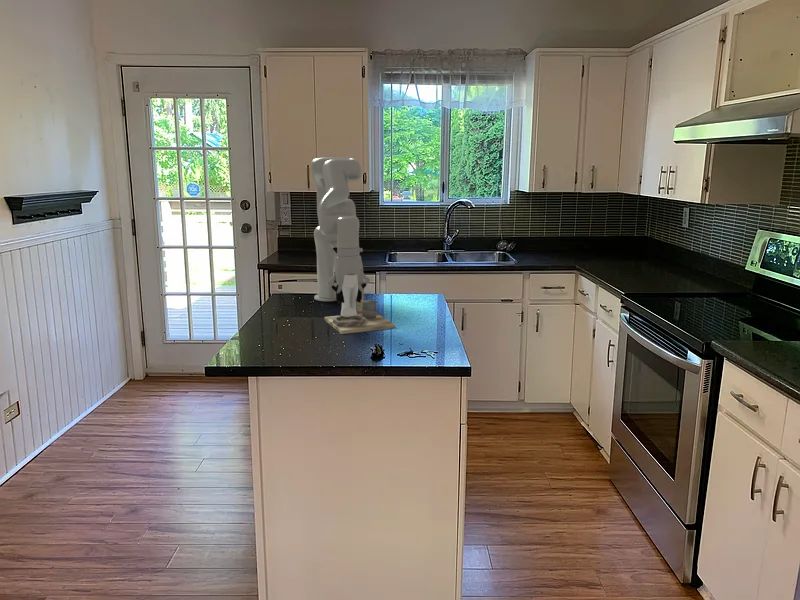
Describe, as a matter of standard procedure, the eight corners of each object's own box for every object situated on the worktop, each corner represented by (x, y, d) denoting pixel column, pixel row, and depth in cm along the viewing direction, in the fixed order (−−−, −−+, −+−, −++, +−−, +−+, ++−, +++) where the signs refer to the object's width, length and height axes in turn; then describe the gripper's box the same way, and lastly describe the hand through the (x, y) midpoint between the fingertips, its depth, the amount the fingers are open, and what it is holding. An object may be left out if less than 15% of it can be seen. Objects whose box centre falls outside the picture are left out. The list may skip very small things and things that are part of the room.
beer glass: (335, 315, 209) (334, 274, 205) (346, 311, 215) (345, 271, 211) (352, 318, 205) (351, 275, 202) (362, 313, 211) (362, 272, 208)
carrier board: (324, 320, 218) (324, 301, 217) (374, 314, 226) (374, 296, 225) (341, 334, 201) (340, 313, 199) (395, 327, 208) (395, 308, 207)
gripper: (367, 249, 212) (368, 298, 216) (321, 252, 205) (322, 302, 209) (375, 252, 205) (375, 302, 209) (327, 255, 198) (328, 307, 202)
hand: (349, 302), depth 209 cm, fingers closed on beer glass, 6 cm apart
